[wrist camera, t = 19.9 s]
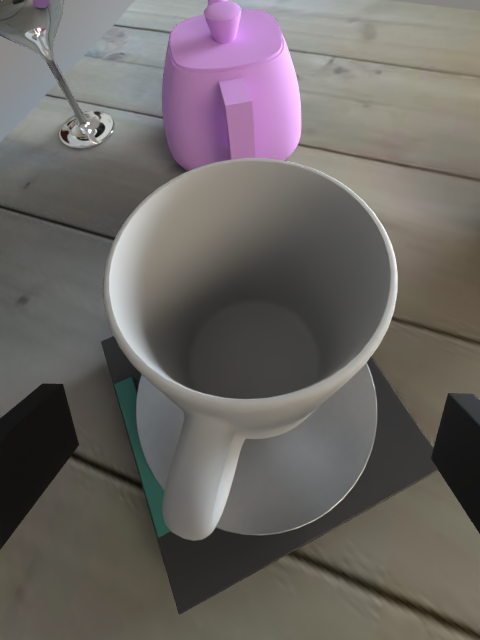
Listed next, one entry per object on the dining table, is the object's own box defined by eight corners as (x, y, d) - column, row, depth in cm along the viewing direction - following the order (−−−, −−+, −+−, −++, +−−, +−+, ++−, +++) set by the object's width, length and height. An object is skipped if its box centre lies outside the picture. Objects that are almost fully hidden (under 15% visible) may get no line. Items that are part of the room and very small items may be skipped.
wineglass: (48, 160, 34) (-151, -117, 18) (56, 113, 37) (-105, -157, 21) (122, 148, 34) (-8, -139, 18) (123, 102, 37) (14, -175, 21)
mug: (208, 290, 21) (161, 139, 11) (335, 317, 20) (412, 173, 10) (140, 481, 17) (-44, 520, 7) (299, 534, 15) (374, 684, 5)
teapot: (278, 78, 37) (284, -63, 27) (315, 201, 29) (344, 66, 19) (169, 93, 38) (135, -41, 27) (175, 221, 29) (131, 96, 19)
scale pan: (187, 586, 15) (184, 593, 15) (114, 345, 21) (108, 340, 20) (424, 456, 17) (432, 456, 16) (298, 264, 22) (300, 258, 22)
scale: (191, 591, 18) (175, 621, 15) (118, 354, 24) (96, 338, 21) (420, 465, 20) (452, 466, 17) (298, 275, 26) (304, 249, 23)
